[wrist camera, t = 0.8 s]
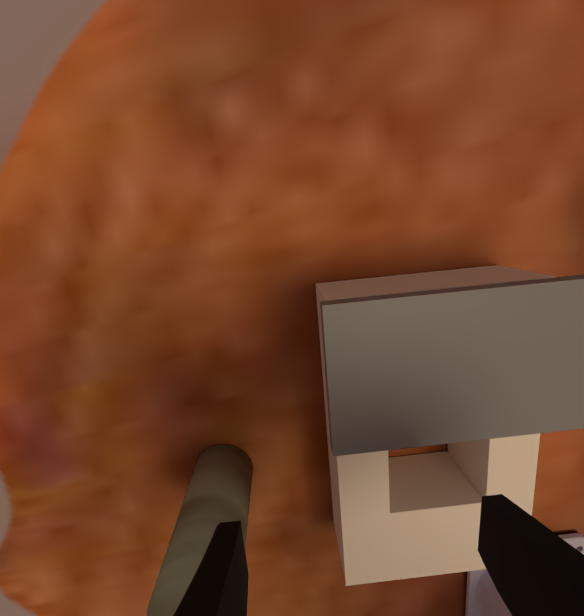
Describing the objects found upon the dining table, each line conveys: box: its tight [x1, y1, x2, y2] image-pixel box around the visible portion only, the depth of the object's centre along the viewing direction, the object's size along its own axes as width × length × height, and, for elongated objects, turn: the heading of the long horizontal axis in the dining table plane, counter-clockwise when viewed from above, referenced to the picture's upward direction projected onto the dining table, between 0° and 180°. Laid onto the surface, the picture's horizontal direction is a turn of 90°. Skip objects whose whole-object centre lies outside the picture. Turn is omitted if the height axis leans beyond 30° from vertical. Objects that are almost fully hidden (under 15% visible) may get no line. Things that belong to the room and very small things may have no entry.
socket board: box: [315, 265, 584, 586], centre depth 17 cm, size 16×11×7 cm, turn 5°
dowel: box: [147, 444, 253, 616], centre depth 17 cm, size 4×4×8 cm
